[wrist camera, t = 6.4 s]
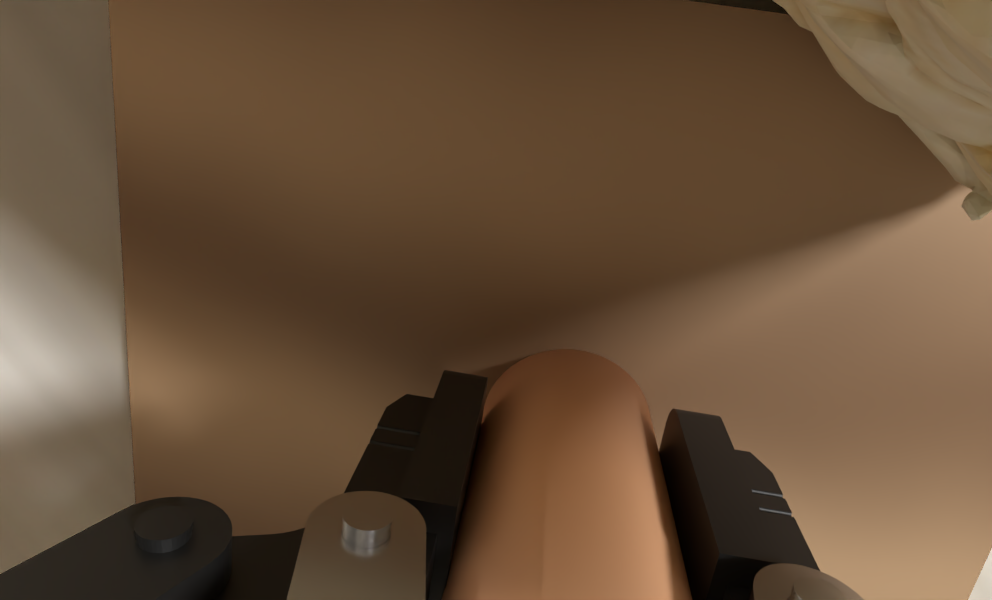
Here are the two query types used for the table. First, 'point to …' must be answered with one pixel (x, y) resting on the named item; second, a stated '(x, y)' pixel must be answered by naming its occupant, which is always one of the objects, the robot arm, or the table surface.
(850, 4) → the storage basket
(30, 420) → the table surface
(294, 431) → the walnut shelf board with cream rails
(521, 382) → the corded block
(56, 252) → the table surface
